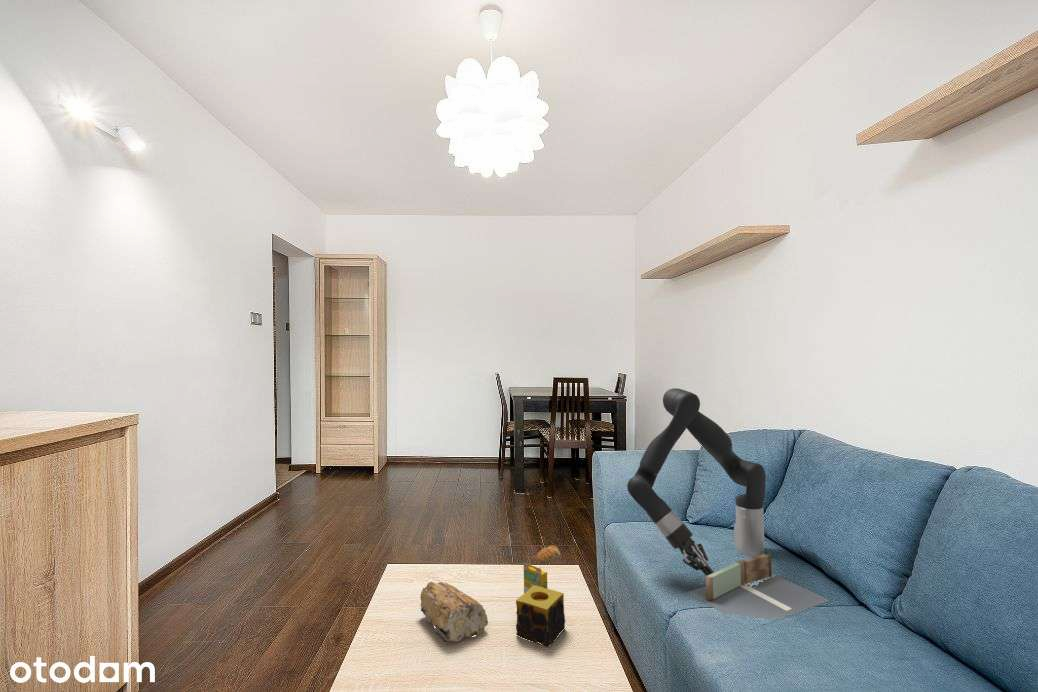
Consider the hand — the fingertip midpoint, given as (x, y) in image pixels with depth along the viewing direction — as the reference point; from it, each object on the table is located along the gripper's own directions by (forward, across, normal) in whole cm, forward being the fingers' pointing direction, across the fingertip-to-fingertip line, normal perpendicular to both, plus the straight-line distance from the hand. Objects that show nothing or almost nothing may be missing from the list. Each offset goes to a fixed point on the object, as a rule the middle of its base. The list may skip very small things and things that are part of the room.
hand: (713, 577), depth 153 cm
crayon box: (-26, -33, +35) cm, 55 cm away
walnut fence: (+10, +17, -3) cm, 20 cm away
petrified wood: (-34, -57, +44) cm, 80 cm away
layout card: (+12, +6, -4) cm, 14 cm away
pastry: (-35, -5, +45) cm, 57 cm away
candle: (-18, -46, +28) cm, 57 cm away
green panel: (+5, +3, +1) cm, 6 cm away
